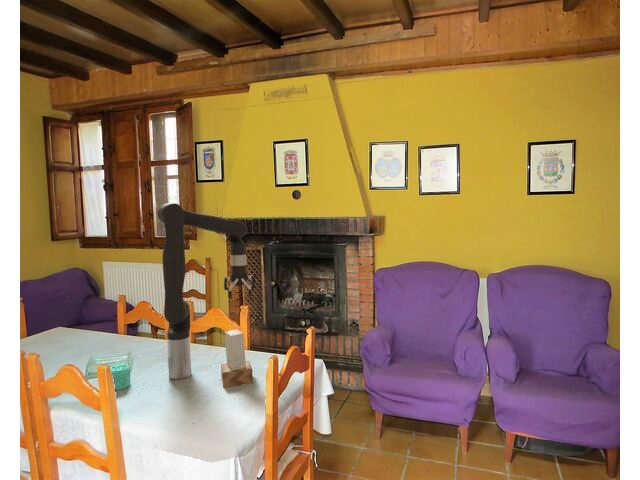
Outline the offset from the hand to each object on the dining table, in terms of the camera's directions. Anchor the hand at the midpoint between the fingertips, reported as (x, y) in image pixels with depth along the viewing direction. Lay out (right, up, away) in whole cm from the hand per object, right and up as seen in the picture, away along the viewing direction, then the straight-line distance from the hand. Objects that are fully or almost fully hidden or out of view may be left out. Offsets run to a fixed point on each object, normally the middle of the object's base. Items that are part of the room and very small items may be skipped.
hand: (239, 297), depth 199 cm
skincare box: (+3, -26, -22) cm, 34 cm away
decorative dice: (-45, -34, -25) cm, 62 cm away
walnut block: (+3, -32, -22) cm, 39 cm away
